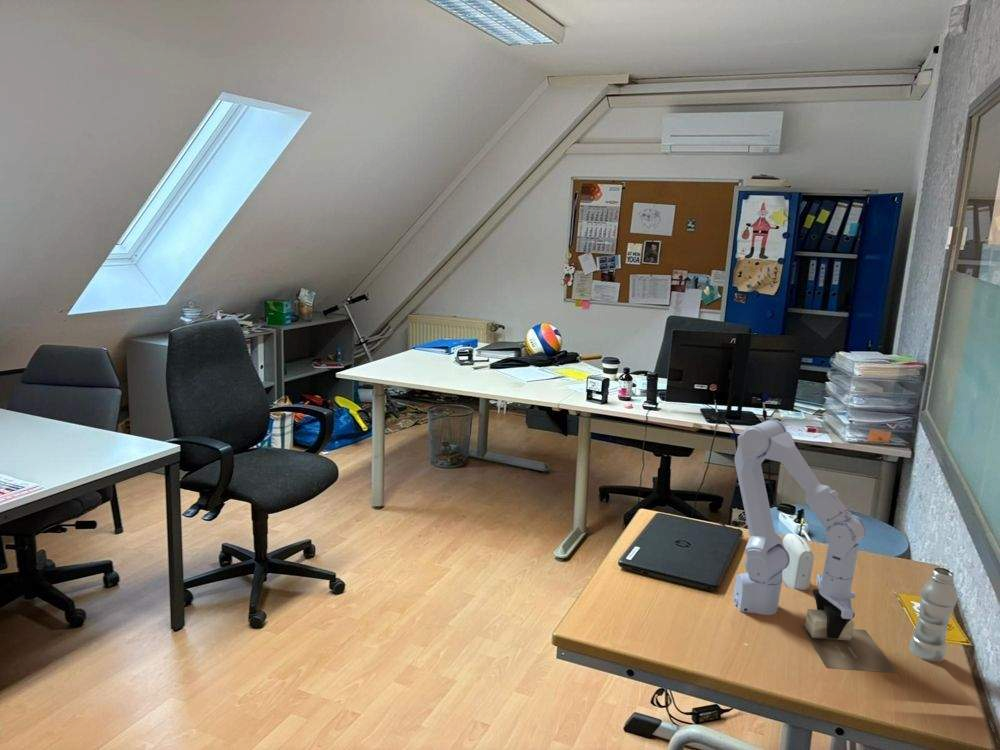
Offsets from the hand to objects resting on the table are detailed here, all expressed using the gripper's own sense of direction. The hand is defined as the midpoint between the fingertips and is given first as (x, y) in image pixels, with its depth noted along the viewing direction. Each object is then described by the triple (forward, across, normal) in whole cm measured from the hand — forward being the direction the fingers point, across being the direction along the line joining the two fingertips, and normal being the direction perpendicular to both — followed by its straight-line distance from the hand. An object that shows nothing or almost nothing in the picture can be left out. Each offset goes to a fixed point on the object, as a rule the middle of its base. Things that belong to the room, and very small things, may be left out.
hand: (827, 630), depth 159 cm
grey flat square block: (+3, -4, -3) cm, 6 cm away
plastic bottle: (+3, -4, -19) cm, 20 cm away
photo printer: (+3, +24, -1) cm, 25 cm away
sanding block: (+1, 0, 0) cm, 1 cm away
